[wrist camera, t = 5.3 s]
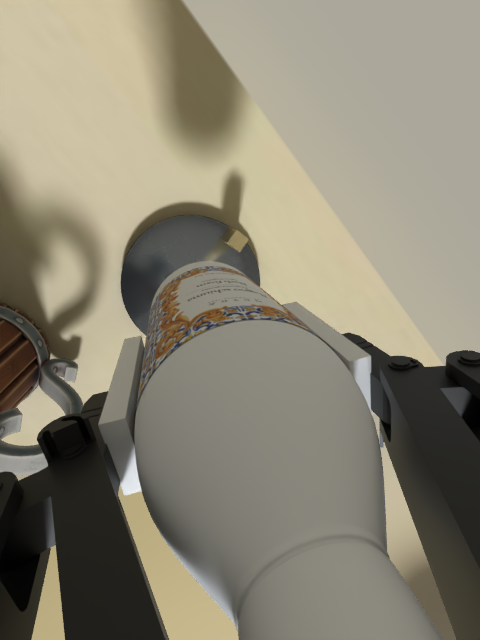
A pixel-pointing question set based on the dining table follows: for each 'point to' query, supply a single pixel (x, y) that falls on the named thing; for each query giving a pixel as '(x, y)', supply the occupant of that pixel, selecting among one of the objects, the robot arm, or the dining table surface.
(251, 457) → the bath foam
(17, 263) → the dining table surface
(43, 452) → the robot arm
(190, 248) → the disc
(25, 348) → the mug
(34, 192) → the dining table surface
